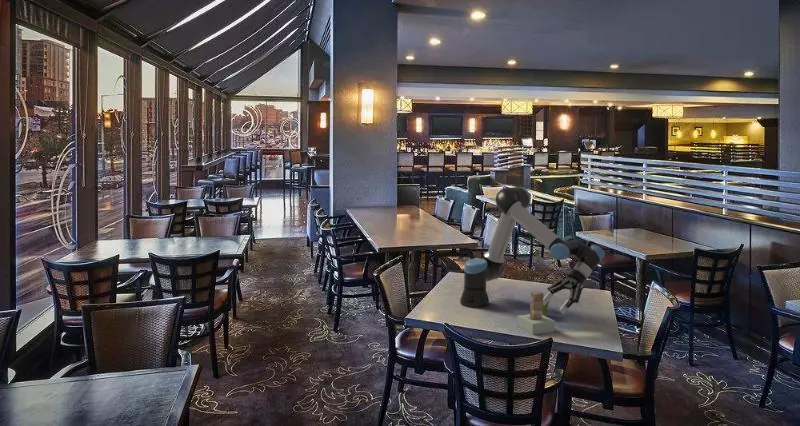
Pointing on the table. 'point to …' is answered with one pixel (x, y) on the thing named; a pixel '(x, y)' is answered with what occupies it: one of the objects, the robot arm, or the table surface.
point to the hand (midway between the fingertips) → (551, 307)
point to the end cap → (536, 324)
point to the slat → (536, 306)
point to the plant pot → (545, 308)
